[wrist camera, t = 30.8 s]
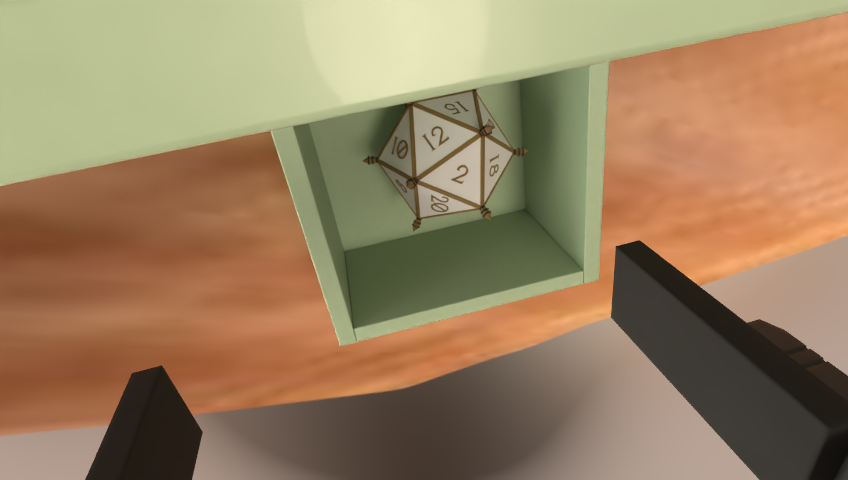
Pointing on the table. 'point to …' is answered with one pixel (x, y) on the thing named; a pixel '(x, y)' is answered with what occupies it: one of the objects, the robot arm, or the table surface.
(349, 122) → the chest
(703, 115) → the table surface
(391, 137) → the game die
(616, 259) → the robot arm
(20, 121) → the lid
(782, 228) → the table surface
